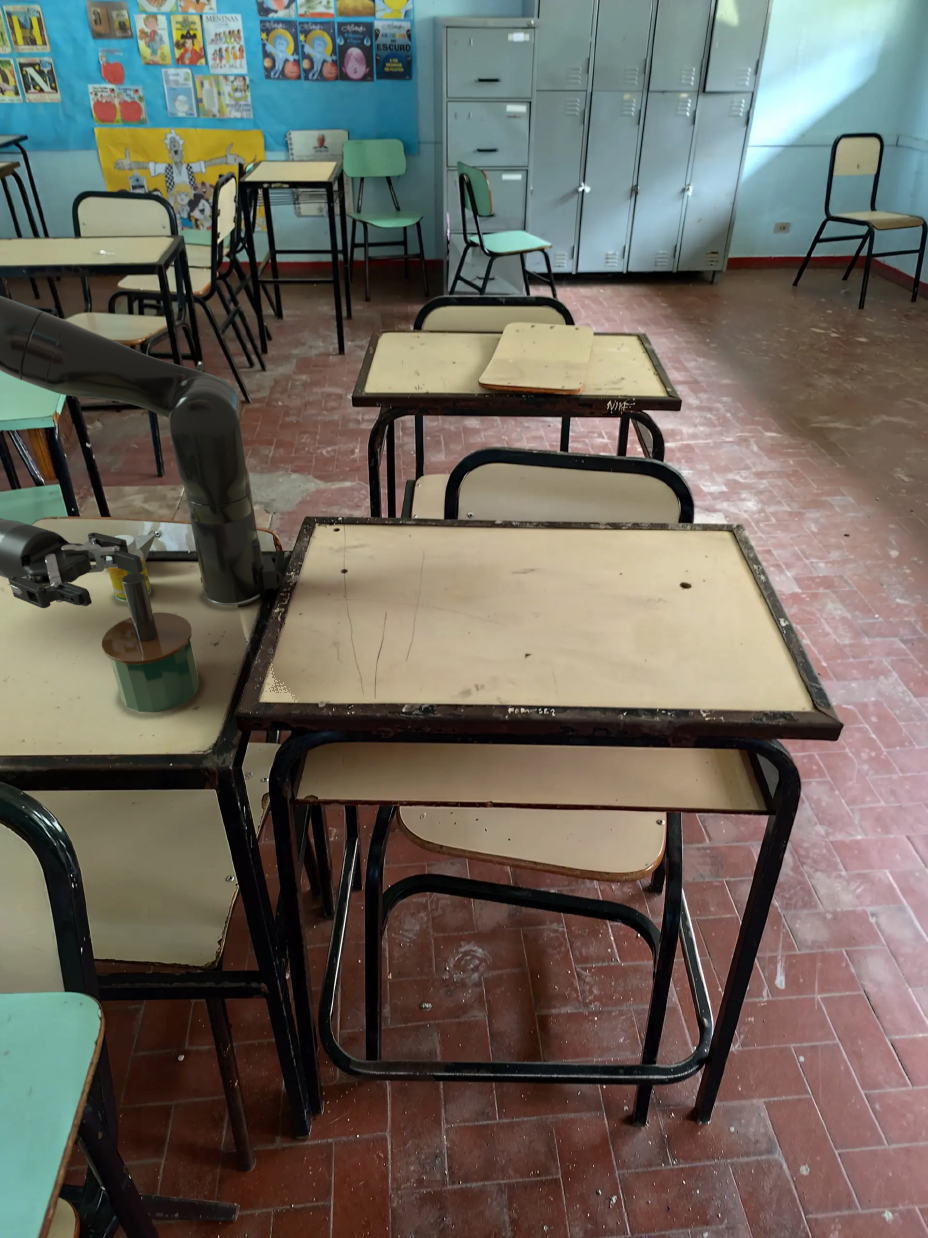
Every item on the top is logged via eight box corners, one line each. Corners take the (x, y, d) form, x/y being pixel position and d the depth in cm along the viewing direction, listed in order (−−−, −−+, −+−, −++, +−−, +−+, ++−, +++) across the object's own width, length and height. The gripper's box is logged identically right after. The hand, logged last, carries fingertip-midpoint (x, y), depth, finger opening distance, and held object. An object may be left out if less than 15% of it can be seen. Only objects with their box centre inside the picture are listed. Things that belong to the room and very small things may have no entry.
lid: (189, 613, 113) (176, 550, 108) (195, 658, 105) (182, 593, 99) (104, 627, 110) (86, 563, 105) (103, 675, 102) (84, 608, 96)
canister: (196, 663, 117) (186, 611, 112) (202, 706, 109) (191, 653, 105) (121, 676, 114) (107, 624, 110) (122, 721, 107) (107, 668, 102)
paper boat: (85, 559, 138) (123, 523, 143) (115, 587, 141) (151, 551, 146) (114, 543, 130) (153, 506, 135) (145, 574, 132) (182, 536, 138)
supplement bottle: (131, 583, 134) (118, 529, 129) (159, 590, 133) (147, 536, 127) (108, 600, 130) (93, 545, 125) (136, 607, 129) (122, 552, 123)
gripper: (-36, 550, 103) (61, 582, 97) (57, 504, 113) (150, 530, 108) (-17, 603, 107) (77, 636, 101) (71, 553, 118) (161, 581, 112)
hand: (115, 581), depth 104 cm, fingers open, 8 cm apart
